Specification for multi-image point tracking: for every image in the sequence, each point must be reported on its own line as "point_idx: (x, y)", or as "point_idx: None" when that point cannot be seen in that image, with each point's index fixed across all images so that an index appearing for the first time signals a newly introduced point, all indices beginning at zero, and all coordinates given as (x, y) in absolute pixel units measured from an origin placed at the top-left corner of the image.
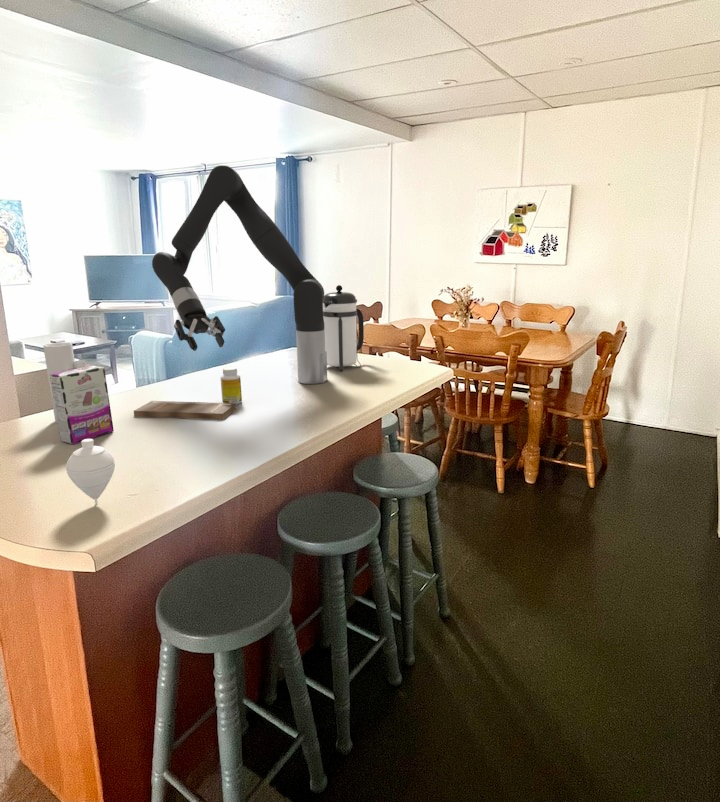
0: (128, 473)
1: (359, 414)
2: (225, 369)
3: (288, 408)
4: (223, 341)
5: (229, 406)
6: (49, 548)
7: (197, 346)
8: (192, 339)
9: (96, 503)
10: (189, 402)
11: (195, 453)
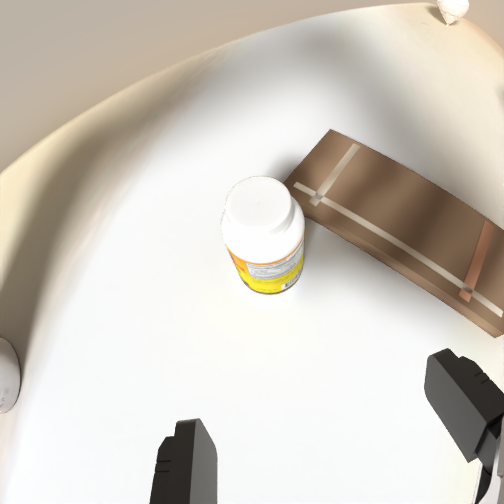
0: (444, 48)
1: (101, 103)
2: (282, 189)
3: (164, 159)
4: (169, 444)
5: (302, 171)
6: None
7: (430, 355)
8: (484, 393)
9: (446, 25)
10: (409, 262)
11: (381, 50)
